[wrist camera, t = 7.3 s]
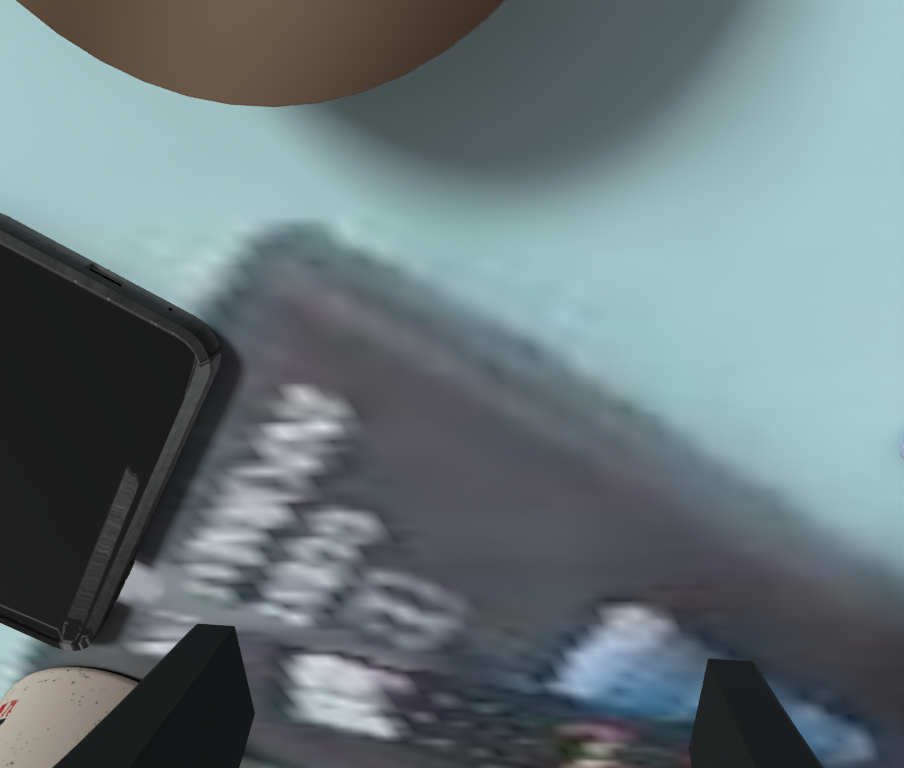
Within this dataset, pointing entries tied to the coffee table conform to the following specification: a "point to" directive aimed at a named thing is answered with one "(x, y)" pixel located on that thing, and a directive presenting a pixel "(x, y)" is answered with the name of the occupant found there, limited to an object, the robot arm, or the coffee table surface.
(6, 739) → the teacup with lid
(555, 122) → the coffee table surface
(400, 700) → the coffee table surface
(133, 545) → the phone
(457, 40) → the walnut lid
